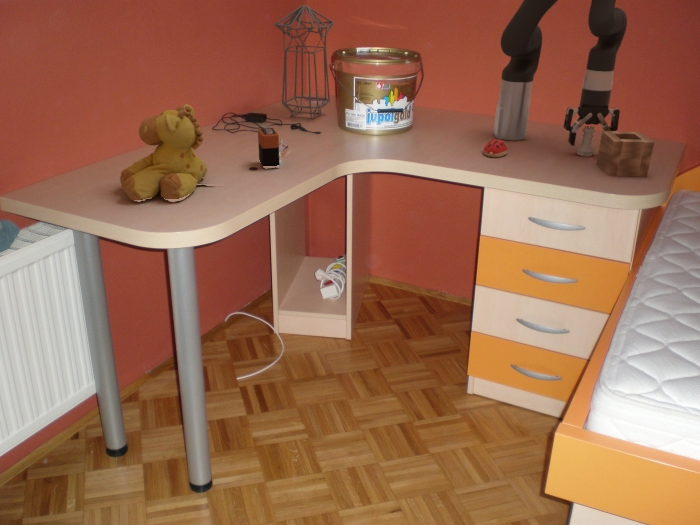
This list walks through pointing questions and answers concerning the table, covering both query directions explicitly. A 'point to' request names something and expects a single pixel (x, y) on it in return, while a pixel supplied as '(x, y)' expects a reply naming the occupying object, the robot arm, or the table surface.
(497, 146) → the ladybug figurine
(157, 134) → the giraffe plush
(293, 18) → the geometric lantern
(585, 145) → the rook chess piece
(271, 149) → the battery
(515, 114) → the robot arm
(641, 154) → the socket block
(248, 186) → the table surface
